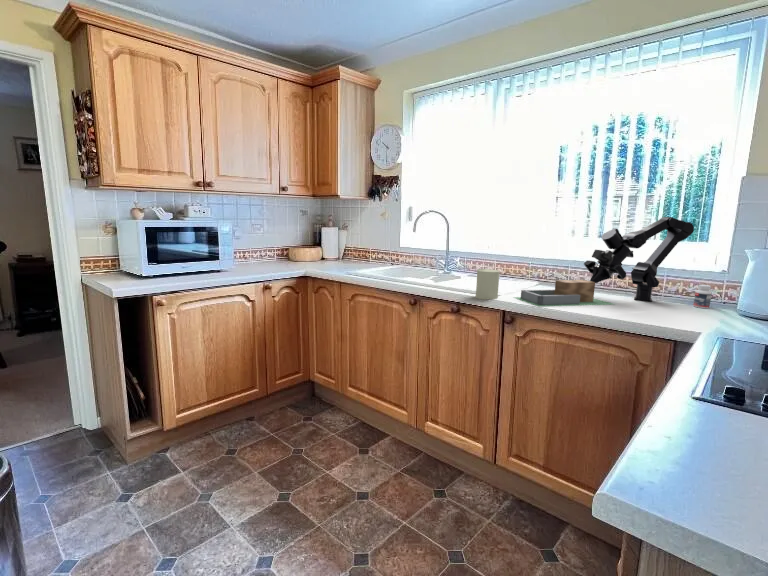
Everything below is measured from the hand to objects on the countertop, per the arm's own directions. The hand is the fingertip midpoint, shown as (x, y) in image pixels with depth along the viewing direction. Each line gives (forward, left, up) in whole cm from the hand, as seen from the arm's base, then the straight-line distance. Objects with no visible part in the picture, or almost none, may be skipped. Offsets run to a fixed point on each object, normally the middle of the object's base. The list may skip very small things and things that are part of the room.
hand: (590, 283), depth 175 cm
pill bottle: (-16, +39, -8) cm, 43 cm away
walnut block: (+5, -5, -7) cm, 10 cm away
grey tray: (+13, -13, -7) cm, 20 cm away
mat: (+8, -8, -7) cm, 14 cm away
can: (+21, -37, -8) cm, 43 cm away
